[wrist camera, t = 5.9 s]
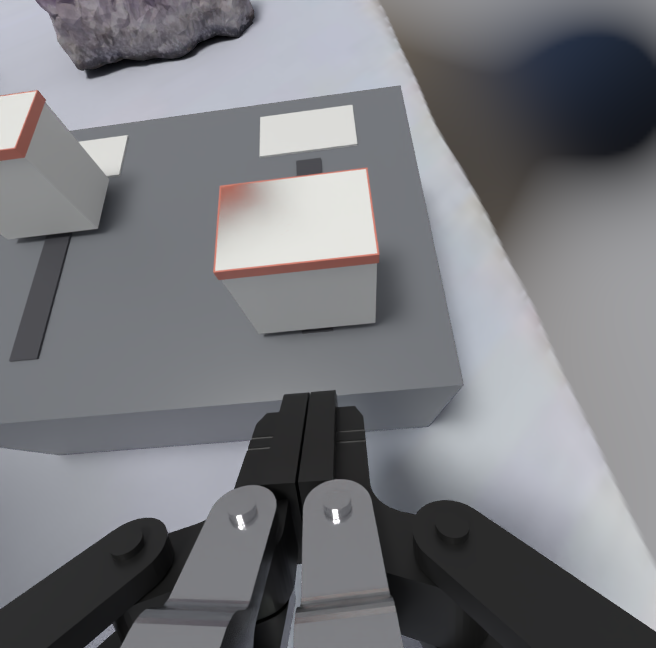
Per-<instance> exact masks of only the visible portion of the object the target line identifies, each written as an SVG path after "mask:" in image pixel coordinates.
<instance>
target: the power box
mask: <svg viewBox="0 0 656 648" xmlns="http://www.w3.org/2000/svg"><path fill="white" fill-rule="evenodd" d="M70 133H71V134H72V135H73V136H74V137H75V139H76V140H77V141H78V142H79V143H80V145H81V146H82V147H83V148H84V149H85V151H86V152H87V153H88V154H89V155H90V157H91V158H92V159H93V160H94V161H95V163H96V164H97V165H98V166H99V167H100V169H101V170H102V171H103V172H104V174H105V175H106V176H107V177H108V178H109V183H108V187H107V191H106V196H105V200H104V204H103V209H102V213H101V217H100V221H99V226H98V229H92V230H83V231H75V232H66V233H58V234H50V235H41V236H33V237H24V238H16V239H6V238H5V237H3V236H2V235H1V234H0V448H7V449H15V450H23V451H31V452H38V453H46V454H54V455H66V454H79V453H92V452H105V451H118V450H131V449H144V448H157V447H170V446H183V445H196V444H209V443H222V442H235V441H248V440H252V435H253V432H254V429H255V426H256V424H257V423H258V422H259V421H260V420H261V419H262V418H263V417H264V416H265V414H266V413H273V412H279V411H280V407H281V403H282V399H283V396H284V394H294V393H306V392H309V393H311V392H317V391H329V390H336V394H337V402H338V407H346V406H355V407H356V408H357V409H358V410H359V411H360V413H361V414H362V415H363V418H364V428H365V431H377V430H390V429H403V428H416V427H428V426H429V425H430V424H431V423H432V422H433V420H434V419H435V418H436V417H437V416H438V415H439V413H440V412H441V411H442V410H443V409H444V407H445V406H446V405H447V404H448V403H449V402H450V400H451V399H452V398H453V397H454V396H455V394H456V393H457V392H458V391H459V390H460V389H461V387H462V386H463V385H464V384H463V379H462V375H461V370H460V365H459V360H458V356H457V351H456V346H455V341H454V337H453V332H452V327H451V323H450V318H449V313H448V308H447V304H446V299H445V294H444V289H443V285H442V280H441V275H440V270H439V266H438V261H437V256H436V252H435V247H434V242H433V237H432V233H431V228H430V223H429V218H428V214H427V209H426V204H425V199H424V195H423V190H422V185H421V181H420V176H419V171H418V166H417V162H416V157H415V152H414V147H413V143H412V138H411V133H410V128H409V124H408V119H407V114H406V109H405V105H404V100H403V95H402V91H401V86H393V87H386V88H378V89H371V90H364V91H357V92H349V93H342V94H335V95H327V96H320V97H313V98H306V99H298V100H291V101H284V102H277V103H269V104H262V105H255V106H248V107H240V108H233V109H226V110H219V111H211V112H204V113H197V114H190V115H182V116H175V117H168V118H160V119H153V120H146V121H139V122H131V123H124V124H117V125H110V126H102V127H95V128H88V129H81V130H73V131H70ZM359 168H368V176H369V183H370V190H371V197H372V205H373V212H374V219H375V226H376V234H377V241H378V248H379V263H377V282H376V319H375V323H369V324H358V325H348V326H337V327H327V328H317V329H306V330H296V331H285V332H275V333H265V334H259V333H258V332H257V330H256V329H255V328H254V326H253V325H252V323H251V322H250V320H249V319H248V317H247V316H246V315H245V313H244V312H243V310H242V309H241V307H240V306H239V304H238V303H237V302H236V300H235V299H234V297H233V296H232V294H231V293H230V292H229V290H228V289H227V287H226V286H225V284H224V283H223V281H222V280H218V279H217V277H216V276H215V274H214V273H213V269H214V255H215V242H216V229H217V215H218V202H219V189H220V186H222V185H230V184H238V183H246V182H254V181H262V180H271V179H279V178H287V177H295V176H303V175H311V174H319V173H327V172H335V171H343V170H351V169H359Z"/></svg>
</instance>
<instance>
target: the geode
mask: <svg viewBox="0 0 656 648" xmlns="http://www.w3.org/2000/svg"><path fill="white" fill-rule="evenodd" d="M36 2H37V3H38V4H39V5H40V6H41V7H42V8H43V9H44V10H45V11H47V12H48V13H49V15H50V18H51V20H52V23H53V26H54V28H55V31H56V34H57V40H58V42H59V44H60V45H61V46H62V48H63V49H64V51H65V52H66V53H67V54H68V55H69V57H70V58H71V60H72V61H73V63H74V64H75V66H76V67H77V69H79V70H83V71H84V70H85V69H96V68H99V67H101V66H103V65H105V64H108V63H116V62H118V61H120V60H122V59H132V60H149V59H152V58H167V59H174V58H180V57H183V56H184V55H186V54H187V53H188V52H190V51H191V50H192V49H193V48H195V47H196V45H197V43H199V42H201V41H204V40H207V39H209V38H212V37H214V36H216V35H220V36H230V37H238V38H239V37H240V36H241V35H242V34H243V32H244V31H245V30H246V29H247V28H248V27H249V26H250V25H252V24H253V22H252V20H253V18H254V10H253V8H252V6H251V3H250V0H36Z"/></svg>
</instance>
